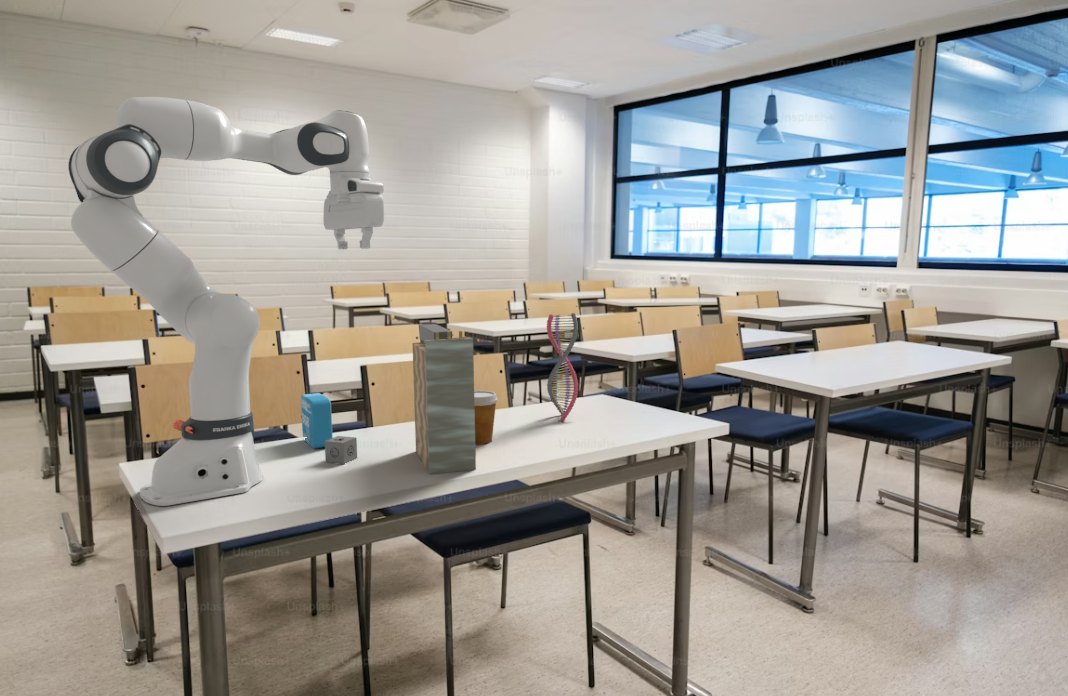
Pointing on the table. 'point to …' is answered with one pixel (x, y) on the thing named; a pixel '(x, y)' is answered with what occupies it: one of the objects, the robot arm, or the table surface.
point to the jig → (444, 403)
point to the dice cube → (340, 449)
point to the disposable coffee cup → (484, 415)
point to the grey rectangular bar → (433, 332)
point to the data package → (316, 419)
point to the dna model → (561, 361)
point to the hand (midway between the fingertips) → (353, 248)
